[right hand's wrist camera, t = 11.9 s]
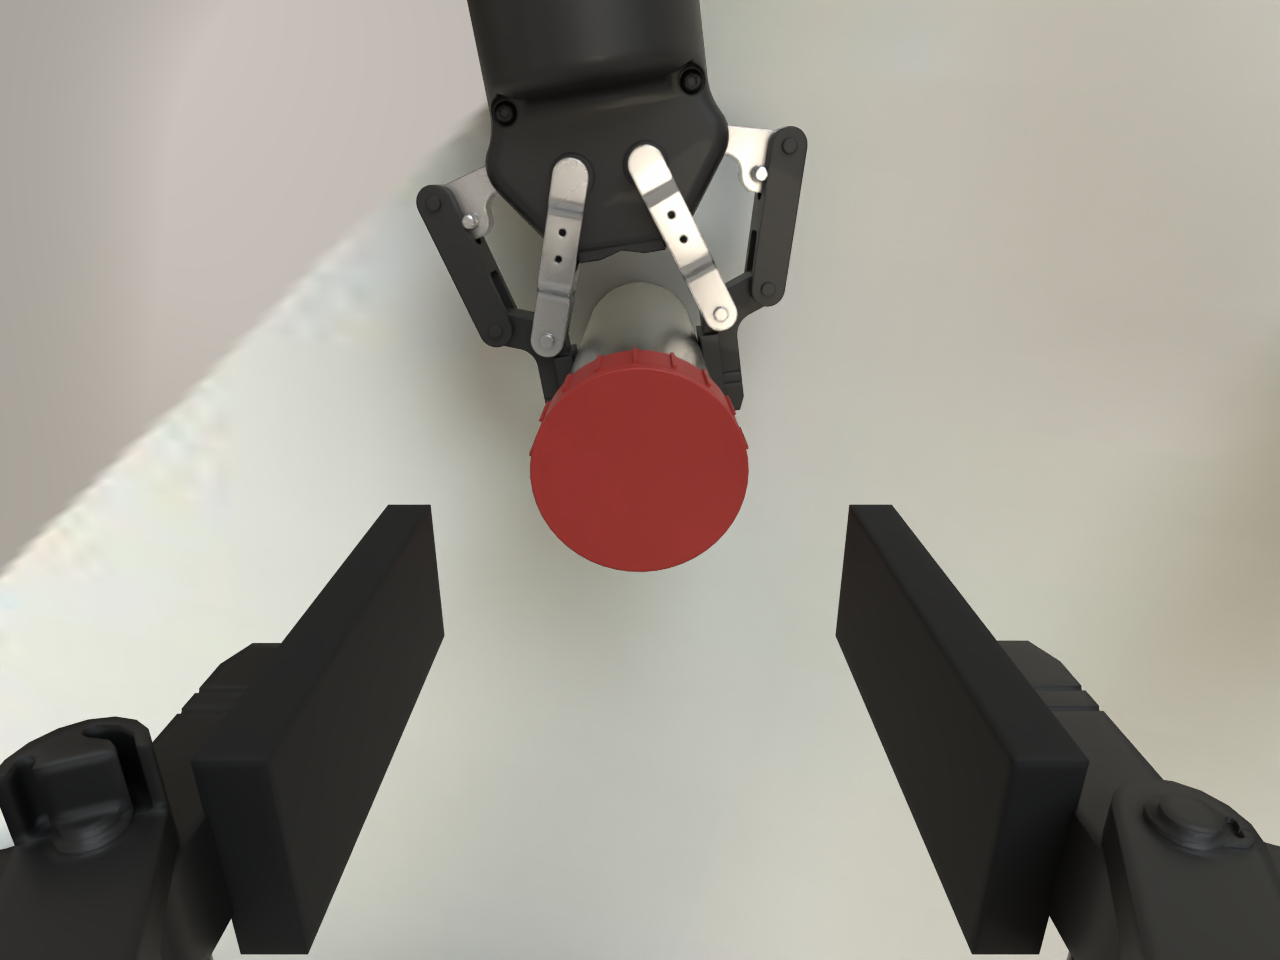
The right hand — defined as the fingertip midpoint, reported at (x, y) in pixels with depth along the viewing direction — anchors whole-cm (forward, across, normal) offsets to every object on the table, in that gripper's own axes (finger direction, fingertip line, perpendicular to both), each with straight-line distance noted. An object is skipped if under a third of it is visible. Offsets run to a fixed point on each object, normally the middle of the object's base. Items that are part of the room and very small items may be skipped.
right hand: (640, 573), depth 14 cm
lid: (+5, 0, 0) cm, 5 cm away
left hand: (+17, 0, -3) cm, 17 cm away
